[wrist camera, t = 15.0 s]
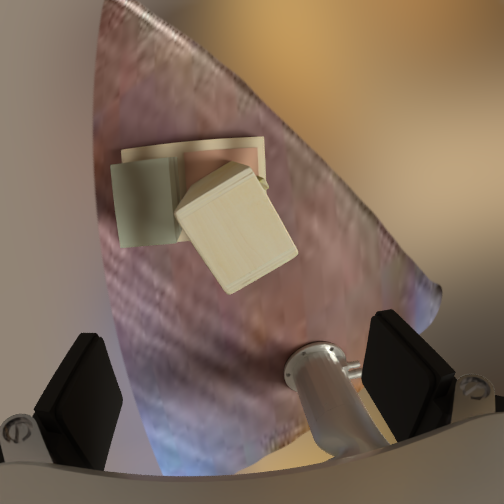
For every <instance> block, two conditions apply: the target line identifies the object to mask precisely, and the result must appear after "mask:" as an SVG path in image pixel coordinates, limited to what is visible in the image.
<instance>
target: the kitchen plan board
mask: <svg viewBox="0 0 504 504" xmlns="http://www.w3.org/2000/svg"><path fill="white" fill-rule="evenodd" d="M121 157H122V163H120V164H114V165H110V168H111V179H112V189H113V198H114V206H115V214H116V221H117V228H118V235H119V241H120V247H121V248H127V247H138V246H150V245H161V244H173V243H177V242H182V241H190V240H189V238H188V237H187V235H186V234H185V232H184V231H183V229H182V228H181V226H180V225H179V223H178V221H177V220H176V218H175V216H174V211H175V209H176V208H177V206H178V205H179V203H180V202H181V200H182V199H183V197H184V196H185V194H186V193H187V191H188V190H189V188H190V187H191V185H192V184H194V183H195V182H197V181H199V180H200V179H202V178H204V177H205V176H207V175H209V174H210V173H212V172H214V171H215V170H217V169H218V168H220V167H222V166H224V165H225V164H227V163H229V162H231V161H234V162H237V163H240V164H244V165H247V166H250V167H251V169H252V170H253V172H254V174H255V175H256V176H260V177H262V178H264V179H265V180H266V172H265V150H264V137H243V138H225V139H211V140H199V141H188V142H178V143H168V144H160V145H152V146H144V147H137V148H130V149H123V150H121ZM264 191H265V192H266V190H264Z"/></svg>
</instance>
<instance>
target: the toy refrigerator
mask: <svg viewBox="0 0 504 504" xmlns="http://www.w3.org/2000/svg"><path fill="white" fill-rule="evenodd" d="M268 188H269V186H268V184H267V182H266V180H265V179H264V178H262V177H260V176H256V175H255V174H254V172H253V170H252V169H251V167H250V166H247V165H244V164H240V163H237V162H234V161H231V162H229V163H227V164H225V165H224V166H222V167H220V168H218V169H217V170H215V171H214V172H212V173H210V174H209V175H207V176H205V177H204V178H202V179H200V180H199V181H197V182H195V183H194V184H192V185H191V187H190V188H189V190H188V191H187V193H186V194H185V196H184V197H183V199H182V200H181V202H180V203H179V205H178V206H177V208H176V209H175V211H174V216H175V218H176V220H177V221H178V223H179V225H180V226H181V228H182V229H183V231H184V232H185V234H186V235H187V237H188V238H189V240H190V241H191V243H192V244H193V246H194V247H195V249H196V250H197V252H198V253H199V255H200V256H201V258H202V259H203V261H204V262H205V264H206V265H207V266H208V268H209V269H210V271H211V272H212V274H213V275H214V277H215V278H216V280H217V281H218V283H219V284H220V286H221V287H222V288H223V290H224V291H225V292H226V293H227V294H228V295H230V294H232V293H234V292H236V291H238V290H239V289H241V288H243V287H245V286H246V285H248V284H250V283H252V282H253V281H255V280H257V279H259V278H260V277H262V276H264V275H265V274H267V273H269V272H271V271H272V270H274V269H276V268H277V267H279V266H281V265H283V264H284V263H286V262H288V261H289V260H291V259H293V258H294V257H295V256H297V255H298V251H297V249H296V247H295V245H294V243H293V241H292V239H291V237H290V235H289V234H288V232H287V230H286V228H285V226H284V225H283V223H282V221H281V219H280V217H279V216H278V214H277V212H276V210H275V208H274V207H273V205H272V203H271V201H270V200H269V198H268V196H267V194H266V192H265V191H264V190H266V189H268Z"/></svg>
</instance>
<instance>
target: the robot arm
mask: <svg viewBox="0 0 504 504" xmlns="http://www.w3.org/2000/svg"><path fill="white" fill-rule="evenodd" d="M359 366H360V363H359V361H353V362H350V363H348V362H346V357H345V354H344V353H343V351H342V350H341V348H340V347H338V346H337V345H335V344H333V343H329V342H316V343H312V344H308V345H306V346H304V347H302V348H300V349H299V350H297V351H296V352H295V353H294V354H292V355H291V357H290V358H289V359H288V361H287V362H286V364H285V367H284V379H285V382H286V384H287V385H288V387H290V388H291V389H292V390H294V391H296V392H298V395H299V398H300V401H301V404H302V406H303V409H304V412H305V415H306V418H307V421H308V424H309V427H310V430H311V433H312V435H313V438H314V441H315V442H316V444H317V445H318V446H319V447H320V448H321V449H322V450H323V451H325V452H326V453H328V454H330V455H332V456H335V457H333V458H331V459H329V460H327V461H325V462H323V463H318V464H313V465H308V466H302V467H297V468H290V469H283V470H277V471H268V472H260V473H250V474H239V475H222V476H153V475H138V474H127V473H117V472H108V471H104V468H105V464H106V460H107V456H108V452H109V448H110V445H111V441H112V438H113V434H114V431H115V427H116V424H117V420H118V417H119V413H120V410H121V407H122V401H123V398H122V394H121V391H120V388H119V386H118V383H117V380H116V377H115V374H114V371H113V369H112V365H111V363H110V359H109V356H108V353H107V350H106V346H105V343H104V340H103V338H102V337H99V336H98V334H96V333H81V334H80V335H79V336H78V338H77V339H76V341H75V342H74V344H73V345H72V347H71V348H70V350H69V351H68V353H67V355H66V356H65V358H64V359H63V361H62V363H61V364H60V366H59V367H58V369H57V370H56V372H55V374H54V375H53V377H52V379H51V380H50V382H49V384H48V385H47V387H46V389H45V390H44V392H43V394H42V395H41V397H40V399H39V401H38V402H37V404H36V406H35V408H34V411H35V413H34V415H33V417H31V416H30V415H27V414H16V415H13V416H11V417H9V418H7V419H6V420H5V421H4V422H3V423H2V425H1V426H0V504H504V397H502V396H497V395H495V390H494V387H493V385H492V383H491V382H490V381H489V380H487V379H486V378H485V377H483V376H480V375H476V374H467V375H463V376H461V377H460V378H459V379H458V380H457V379H456V378H455V377H454V375H455V371H454V370H453V369H452V368H451V367H450V366H449V365H448V364H447V363H446V361H445V360H444V359H443V358H442V357H441V356H440V355H439V354H438V353H437V352H436V351H435V350H434V349H433V348H432V347H431V346H430V345H429V344H428V343H427V342H425V340H424V339H423V338H422V337H421V336H420V335H419V334H418V333H417V332H416V331H415V330H413V329H412V328H411V327H410V326H409V325H408V324H407V323H406V322H405V321H404V320H403V319H402V318H401V317H400V316H399V315H398V314H397V313H396V312H395V311H394V310H392V309H390V310H384V311H378V312H376V314H375V316H373V317H372V318H371V323H370V330H369V336H368V342H367V348H366V353H365V359H364V364H363V369H362V368H358V369H354V370H351V371H348V370H349V369H351V368H357V367H359ZM360 377H361V379H362V383H363V385H364V387H365V388H366V390H367V391H368V393H369V395H370V396H371V398H372V400H373V402H374V403H375V405H376V407H377V408H378V410H379V411H380V413H381V415H382V417H383V418H384V420H385V421H386V423H387V425H388V427H389V428H390V430H391V432H392V433H393V435H394V437H395V439H396V440H397V442H398V443H395V444H392V445H390V444H389V443H388V441H387V440H386V439H385V438H384V437H383V435H382V434H381V432H380V431H379V430H378V428H377V427H376V425H375V423H374V422H373V420H372V418H371V417H370V415H369V413H368V411H367V410H366V408H365V406H364V404H363V402H362V401H361V399H360V397H359V395H358V393H357V392H356V390H355V388H354V386H353V385H352V383H351V381H350V379H353V378H360Z"/></svg>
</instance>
